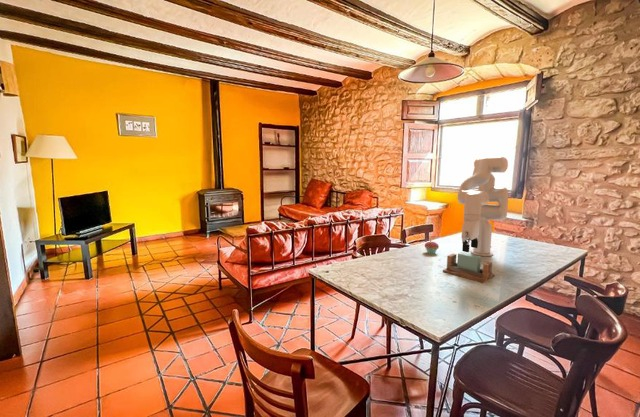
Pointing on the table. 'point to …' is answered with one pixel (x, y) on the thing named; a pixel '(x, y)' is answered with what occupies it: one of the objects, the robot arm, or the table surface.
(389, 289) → the table surface
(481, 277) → the brown wooden holder
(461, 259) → the door panel
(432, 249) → the cupcake
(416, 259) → the table surface
